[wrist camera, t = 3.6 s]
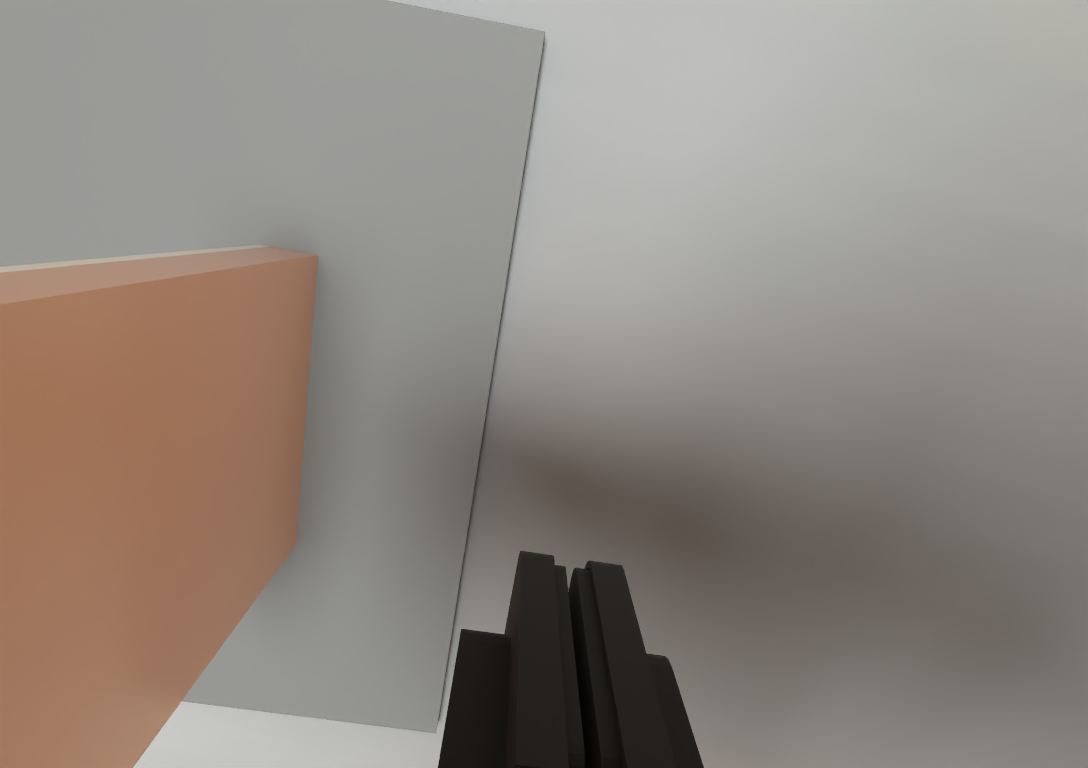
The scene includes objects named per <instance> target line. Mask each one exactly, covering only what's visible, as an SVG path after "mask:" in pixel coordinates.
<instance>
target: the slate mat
mask: <svg viewBox="0 0 1088 768" xmlns="http://www.w3.org/2000/svg"><path fill="white" fill-rule="evenodd" d="M544 36H545V32H544V31H538V30H533V29H528V28H523V27H518V26H513V25H508V24H503V23H498V22H493V21H488V20H483V19H478V18H473V17H468V16H463V15H458V14H453V13H448V12H443V11H438V10H433V9H427V8H422V7H417V6H412V5H407V4H402V3H397V2H392V1H387V0H0V267H5V266H16V265H28V264H40V263H52V262H63V261H75V260H87V259H98V258H110V257H122V256H134V255H145V254H157V253H169V252H180V251H192V250H204V249H215V248H227V247H239V246H251V245H263V246H269V247H275V248H281V249H286V250H292V251H298V252H304V253H310V254H316V255H318V261H317V275H316V288H315V301H314V315H313V328H312V341H311V354H310V368H309V381H308V394H307V408H306V421H305V434H304V448H303V461H302V474H301V487H300V501H299V514H298V527H297V541H296V546H295V547H294V548H293V550H292V551H291V552H290V554H289V555H288V557H287V558H286V559H285V561H284V562H283V563H282V565H281V566H280V567H279V569H278V570H277V572H276V573H275V574H274V576H273V577H272V578H271V580H270V581H269V582H268V584H267V585H266V587H265V588H264V589H263V591H262V592H261V593H260V595H259V596H258V597H257V599H256V600H255V602H254V603H253V604H252V606H251V607H250V608H249V610H248V611H247V612H246V614H245V615H244V617H243V618H242V619H241V621H240V622H239V623H238V625H237V626H236V627H235V629H234V630H233V632H232V633H231V634H230V636H229V637H228V638H227V640H226V641H225V642H224V644H223V645H222V647H221V648H220V649H219V651H218V652H217V653H216V655H215V656H214V657H213V659H212V660H211V662H210V663H209V664H208V666H207V667H206V668H205V670H204V671H203V672H202V674H201V675H200V677H199V678H198V679H197V681H196V682H195V683H194V685H193V686H192V687H191V689H190V690H189V692H188V693H187V694H186V696H185V697H184V698H183V700H182V701H184V702H192V703H200V704H208V705H216V706H224V707H232V708H240V709H248V710H255V711H263V712H271V713H279V714H287V715H295V716H303V717H311V718H319V719H327V720H335V721H343V722H351V723H359V724H367V725H375V726H383V727H390V728H398V729H406V730H414V731H422V732H430V733H436V730H437V725H438V720H439V713H440V707H441V700H442V694H443V687H444V681H445V675H446V668H447V662H448V655H449V649H450V642H451V636H452V630H453V623H454V617H455V610H456V604H457V597H458V591H459V585H460V578H461V572H462V565H463V559H464V552H465V546H466V540H467V533H468V527H469V520H470V514H471V507H472V501H473V494H474V488H475V482H476V475H477V469H478V462H479V456H480V449H481V443H482V437H483V430H484V424H485V417H486V411H487V404H488V398H489V392H490V385H491V379H492V372H493V366H494V359H495V353H496V346H497V340H498V334H499V327H500V321H501V314H502V308H503V301H504V295H505V289H506V282H507V276H508V269H509V263H510V256H511V250H512V244H513V237H514V231H515V224H516V218H517V211H518V205H519V198H520V192H521V186H522V179H523V173H524V166H525V160H526V153H527V147H528V141H529V134H530V128H531V121H532V115H533V108H534V102H535V96H536V89H537V83H538V76H539V70H540V63H541V57H542V51H543V44H544Z"/></svg>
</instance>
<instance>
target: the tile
mask: <svg viewBox="0 0 1088 768" xmlns="http://www.w3.org/2000/svg"><path fill="white" fill-rule="evenodd" d="M317 261H318V255H316V254H310V253H304V252H298V251H292V250H286V249H281V248H275V247H269V246H263V245H251V246H239V247H227V248H215V249H204V250H192V251H180V252H169V253H157V254H145V255H134V256H122V257H110V258H98V259H87V260H75V261H63V262H52V263H40V264H28V265H16V266H5V267H0V768H133V766H134V765H135V764H136V762H137V761H138V760H139V758H140V757H141V756H142V754H143V753H144V751H145V750H146V749H147V747H148V746H149V745H150V743H151V742H152V741H153V739H154V738H155V737H156V735H157V734H158V732H159V731H160V730H161V728H162V727H163V726H164V724H165V723H166V722H167V720H168V719H169V717H170V716H171V715H172V713H173V712H174V711H175V709H176V708H177V707H178V705H179V704H180V702H181V701H182V700H183V698H184V697H185V696H186V694H187V693H188V692H189V690H190V689H191V687H192V686H193V685H194V683H195V682H196V681H197V679H198V678H199V677H200V675H201V674H202V672H203V671H204V670H205V668H206V667H207V666H208V664H209V663H210V662H211V660H212V659H213V657H214V656H215V655H216V653H217V652H218V651H219V649H220V648H221V647H222V645H223V644H224V642H225V641H226V640H227V638H228V637H229V636H230V634H231V633H232V632H233V630H234V629H235V627H236V626H237V625H238V623H239V622H240V621H241V619H242V618H243V617H244V615H245V614H246V612H247V611H248V610H249V608H250V607H251V606H252V604H253V603H254V602H255V600H256V599H257V597H258V596H259V595H260V593H261V592H262V591H263V589H264V588H265V587H266V585H267V584H268V582H269V581H270V580H271V578H272V577H273V576H274V574H275V573H276V572H277V570H278V569H279V567H280V566H281V565H282V563H283V562H284V561H285V559H286V558H287V557H288V555H289V554H290V552H291V551H292V550H293V548H294V547H295V546H296V541H297V527H298V514H299V501H300V487H301V474H302V461H303V448H304V434H305V421H306V408H307V394H308V381H309V368H310V354H311V341H312V328H313V315H314V301H315V288H316V275H317Z"/></svg>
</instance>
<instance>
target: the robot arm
mask: <svg viewBox="0 0 1088 768" xmlns="http://www.w3.org/2000/svg"><path fill="white" fill-rule="evenodd" d="M438 768H704V767H703V764H702V761H701V757H700V754H699V751H698V748H697V745H696V742H695V739H694V735H693V732H692V729H691V726H690V723H689V720H688V717H687V713H686V710H685V707H684V704H683V701H682V698H681V694H680V691H679V688H678V685H677V682H676V679H675V676H674V672H673V669H672V666H671V664H670V662H669V660H668V659H667V658H666V657H665V656H660V655H653V654H646V651H645V647H644V644H643V640H642V636H641V632H640V629H639V625H638V621H637V618H636V614H635V610H634V606H633V603H632V599H631V595H630V591H629V588H628V584H627V580H626V576H625V573H624V569H623V567H622V566H621V565H615V564H608V563H601V562H594V561H588V562H587V564H586V567H585V569H579V568H575V569H574V571H573V574H572V578H571V583H570V587H569V592H568V585H567V575H566V568H565V566H558V565H555V564H554V556H552V555H545V554H538V553H531V552H524V551H520V554H519V558H518V563H517V569H516V574H515V580H514V585H513V590H512V596H511V601H510V607H509V612H508V618H507V623H506V629H505V634H504V635H503V634H496V633H488V632H481V631H473V630H466V629H461V634H460V640H459V646H458V652H457V658H456V664H455V670H454V676H453V682H452V687H451V693H450V699H449V705H448V711H447V717H446V723H445V729H444V735H443V741H442V747H441V753H440V759H439V765H438Z"/></svg>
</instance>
